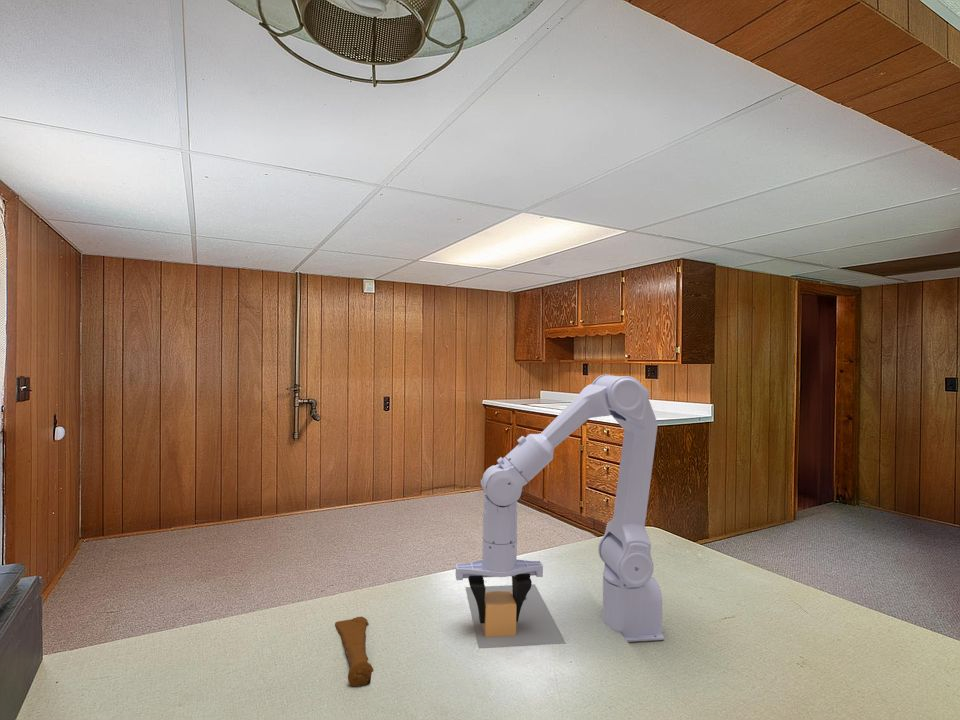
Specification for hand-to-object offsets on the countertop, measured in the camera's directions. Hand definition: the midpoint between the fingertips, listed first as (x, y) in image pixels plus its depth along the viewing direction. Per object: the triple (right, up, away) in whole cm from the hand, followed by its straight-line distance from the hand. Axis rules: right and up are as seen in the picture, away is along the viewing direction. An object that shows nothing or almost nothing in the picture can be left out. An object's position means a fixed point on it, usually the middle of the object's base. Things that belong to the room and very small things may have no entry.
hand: (498, 619), depth 85 cm
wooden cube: (0, -1, 0) cm, 1 cm away
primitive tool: (-23, -3, -4) cm, 24 cm away
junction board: (+2, -3, +5) cm, 7 cm away
